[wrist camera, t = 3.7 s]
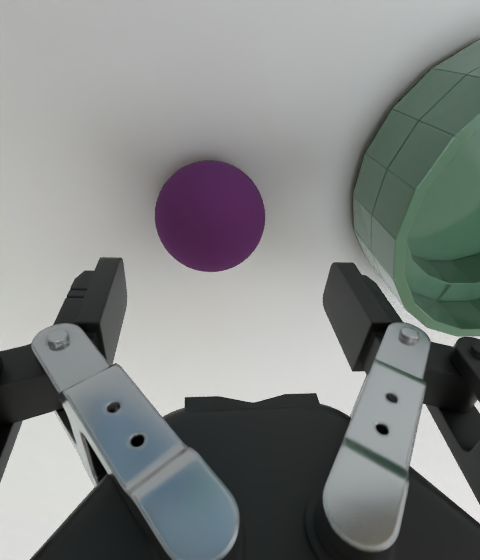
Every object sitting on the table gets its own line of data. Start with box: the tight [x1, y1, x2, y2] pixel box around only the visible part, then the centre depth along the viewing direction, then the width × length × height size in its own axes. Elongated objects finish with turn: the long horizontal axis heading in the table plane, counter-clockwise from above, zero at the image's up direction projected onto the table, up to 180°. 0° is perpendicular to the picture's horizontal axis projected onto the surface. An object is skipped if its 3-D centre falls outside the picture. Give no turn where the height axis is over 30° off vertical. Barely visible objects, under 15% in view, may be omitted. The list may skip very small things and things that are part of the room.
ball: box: [155, 161, 265, 272], centre depth 18 cm, size 6×6×6 cm
